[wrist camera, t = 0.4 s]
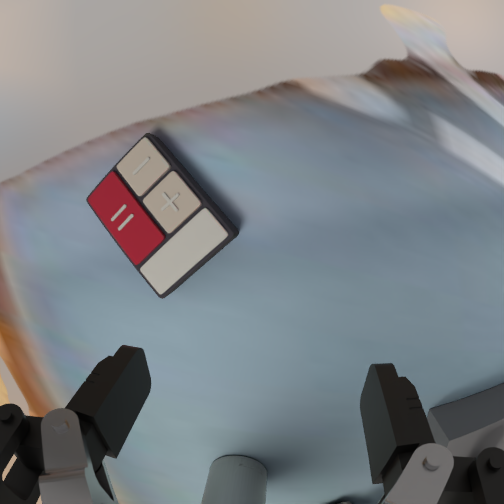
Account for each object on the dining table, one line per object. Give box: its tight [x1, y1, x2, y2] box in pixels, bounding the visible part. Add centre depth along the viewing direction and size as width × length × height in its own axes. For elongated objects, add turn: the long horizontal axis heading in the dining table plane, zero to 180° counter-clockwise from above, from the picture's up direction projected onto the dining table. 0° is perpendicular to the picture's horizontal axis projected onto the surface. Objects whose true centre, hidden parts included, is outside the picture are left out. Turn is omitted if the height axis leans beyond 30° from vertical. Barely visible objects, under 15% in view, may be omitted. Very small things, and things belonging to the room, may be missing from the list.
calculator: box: [87, 133, 239, 298], centre depth 33 cm, size 11×4×15 cm
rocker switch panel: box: [427, 383, 504, 458], centre depth 32 cm, size 28×18×10 cm, turn 97°
